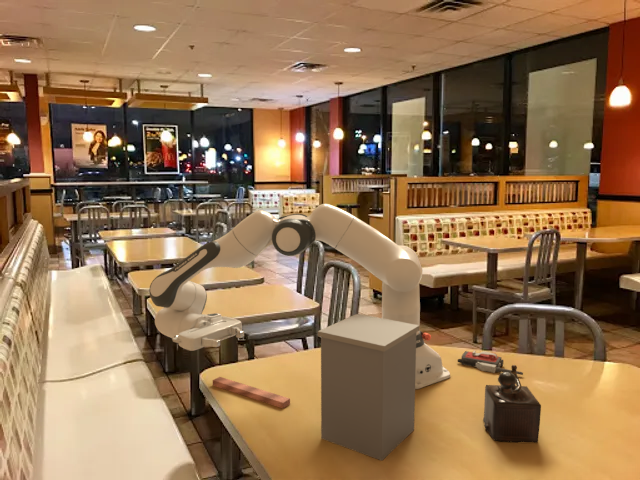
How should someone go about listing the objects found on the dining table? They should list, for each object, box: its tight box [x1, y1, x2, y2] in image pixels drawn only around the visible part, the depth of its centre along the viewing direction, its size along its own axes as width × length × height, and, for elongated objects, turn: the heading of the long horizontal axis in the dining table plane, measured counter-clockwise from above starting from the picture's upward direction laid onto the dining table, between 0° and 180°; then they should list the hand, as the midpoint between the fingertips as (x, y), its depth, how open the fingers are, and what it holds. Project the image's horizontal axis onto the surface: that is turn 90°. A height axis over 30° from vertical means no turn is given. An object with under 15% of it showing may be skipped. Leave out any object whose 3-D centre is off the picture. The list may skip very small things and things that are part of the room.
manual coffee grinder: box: [482, 364, 542, 443], centre depth 121 cm, size 16×11×18 cm
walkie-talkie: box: [457, 350, 524, 376], centre depth 164 cm, size 9×4×20 cm
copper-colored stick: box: [212, 376, 291, 409], centre depth 145 cm, size 26×3×2 cm, turn 56°
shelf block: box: [317, 313, 420, 461], centre depth 122 cm, size 17×17×26 cm
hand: (230, 339), depth 147 cm, fingers open, 8 cm apart
